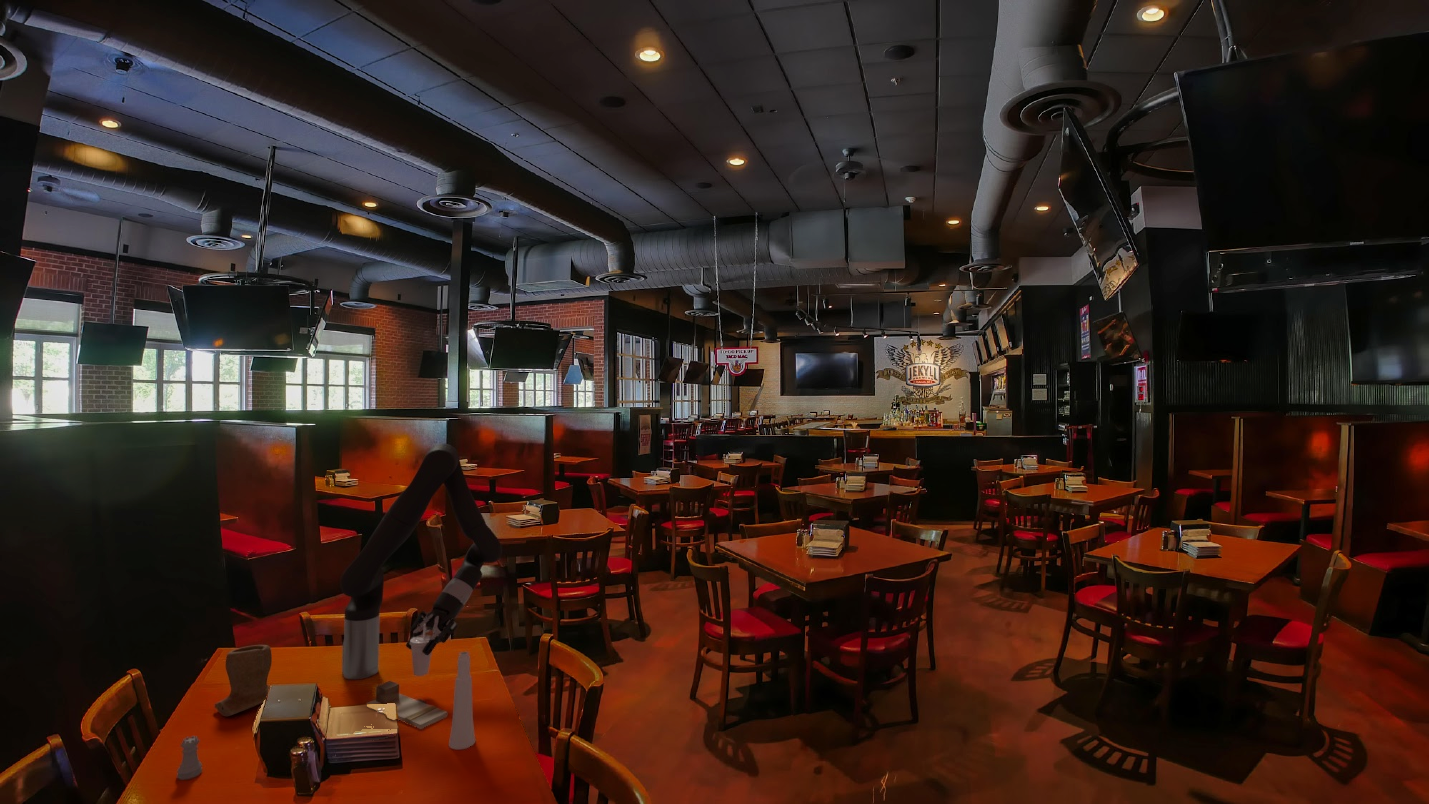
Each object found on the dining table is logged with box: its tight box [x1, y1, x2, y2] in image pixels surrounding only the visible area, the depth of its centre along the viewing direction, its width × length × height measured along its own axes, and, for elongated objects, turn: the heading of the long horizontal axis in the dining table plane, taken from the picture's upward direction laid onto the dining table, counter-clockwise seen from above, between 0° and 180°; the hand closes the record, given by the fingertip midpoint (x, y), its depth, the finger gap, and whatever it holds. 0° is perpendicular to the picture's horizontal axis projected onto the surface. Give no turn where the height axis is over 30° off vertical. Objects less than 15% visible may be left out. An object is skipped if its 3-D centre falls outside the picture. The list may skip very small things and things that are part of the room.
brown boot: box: [214, 644, 273, 717], centre depth 178 cm, size 15×12×15 cm
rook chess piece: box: [176, 735, 203, 781], centre depth 146 cm, size 4×4×8 cm
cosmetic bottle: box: [448, 651, 476, 751], centre depth 162 cm, size 6×6×22 cm
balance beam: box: [366, 680, 448, 730], centre depth 176 cm, size 22×10×5 cm, turn 61°
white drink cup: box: [410, 624, 432, 677], centre depth 187 cm, size 6×6×14 cm
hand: (416, 650), depth 186 cm, fingers closed on white drink cup, 6 cm apart
